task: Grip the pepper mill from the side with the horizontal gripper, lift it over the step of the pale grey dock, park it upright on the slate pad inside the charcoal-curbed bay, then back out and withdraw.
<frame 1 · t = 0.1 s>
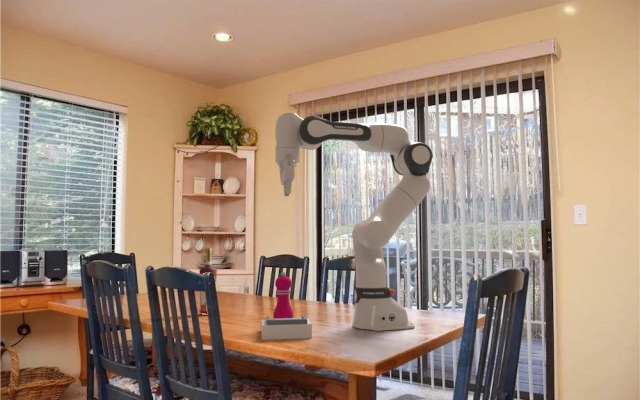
hand: (287, 194, 173), 48 cm above the table, tool pointing down, fingers open, 8 cm apart
dock: (285, 334, 159), on the table
liquor: (207, 315, 202), on the table
pepper mill: (283, 328, 171), on the table
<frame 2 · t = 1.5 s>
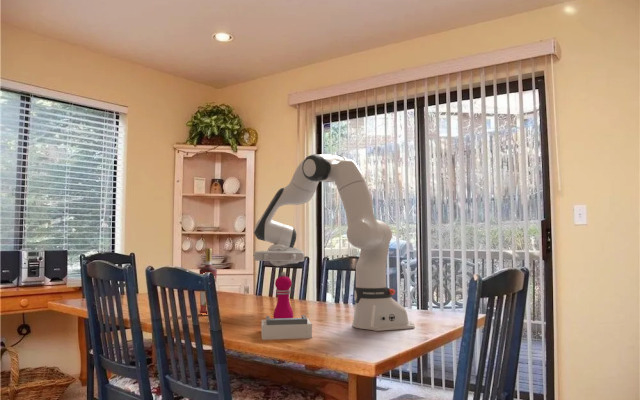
hand: (280, 257, 186), 25 cm above the table, tool horizontal, fingers open, 8 cm apart
nothing on the table moved.
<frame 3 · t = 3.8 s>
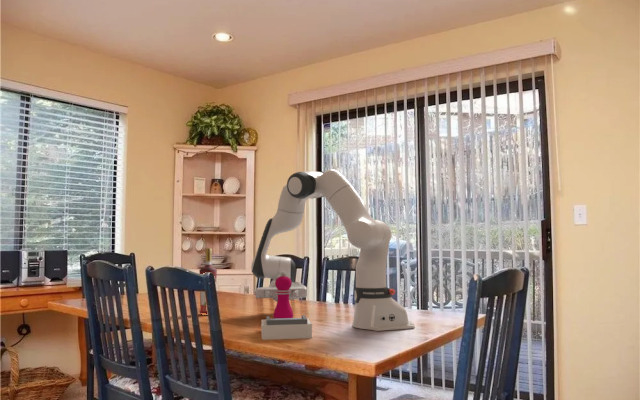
hand: (282, 294, 181), 11 cm above the table, tool horizontal, fingers open, 8 cm apart
nothing on the table moved.
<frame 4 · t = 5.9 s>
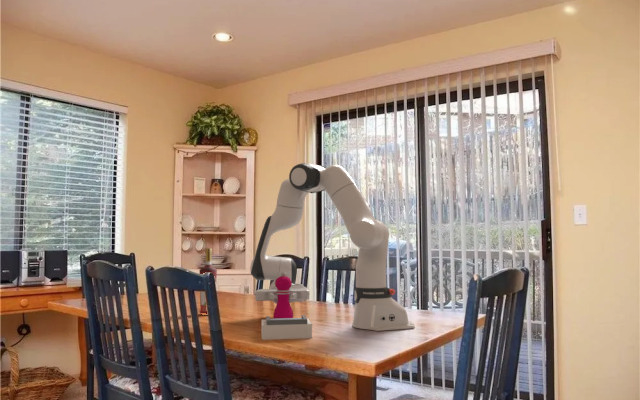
hand: (283, 297, 171), 11 cm above the table, tool horizontal, fingers closed on pepper mill, 5 cm apart
pepper mill: (283, 328, 171), on the table, touching gripper
everything else where it was.
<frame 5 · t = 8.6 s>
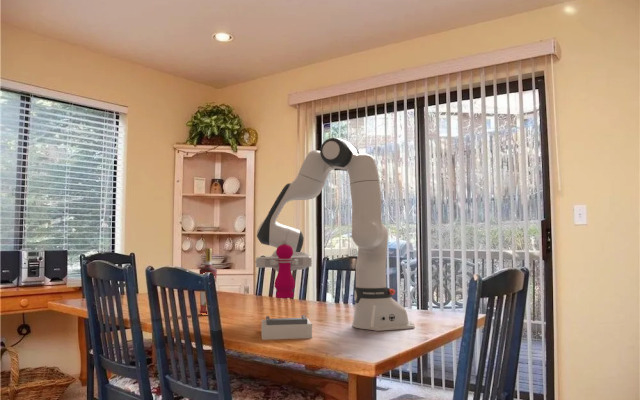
hand: (284, 262, 167), 24 cm above the table, tool horizontal, fingers closed on pepper mill, 5 cm apart
pepper mill: (284, 297, 167), point 11 cm above the table, touching gripper
everything else where it was.
when the fingers open (17 cm above the table, at t = 11.2 s): pepper mill stays where it is, resting on dock.
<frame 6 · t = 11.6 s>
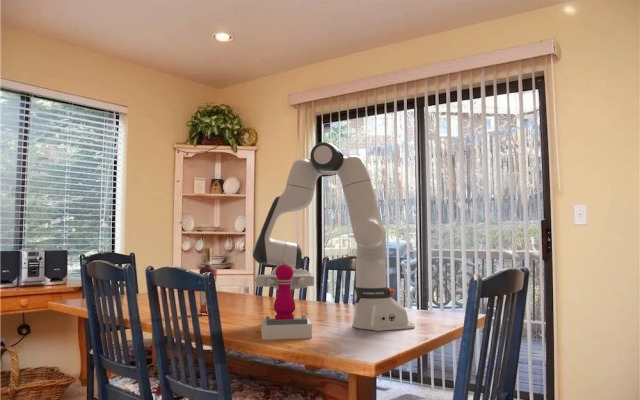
hand: (286, 282, 159), 17 cm above the table, tool horizontal, fingers open, 8 cm apart
pepper mill: (284, 321, 159), point 5 cm above the table, touching dock
everything else where it was.
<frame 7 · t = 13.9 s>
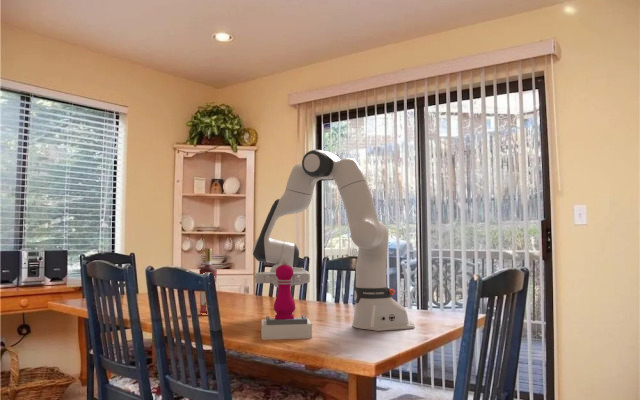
hand: (283, 279, 170), 18 cm above the table, tool horizontal, fingers open, 8 cm apart
nothing on the table moved.
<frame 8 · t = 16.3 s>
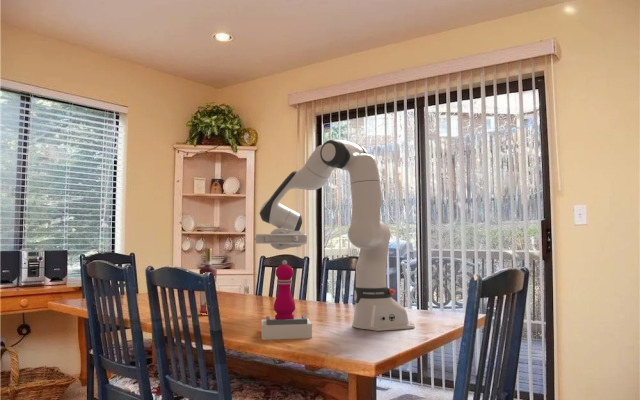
hand: (282, 238, 181), 32 cm above the table, tool horizontal, fingers open, 8 cm apart
nothing on the table moved.
at the end: pepper mill inside the target area (0.5 cm from its centre), point 4.6 cm above the table; pepper mill tilted 0°; the gripper is holding nothing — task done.
